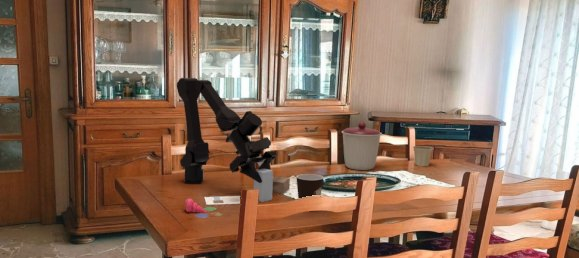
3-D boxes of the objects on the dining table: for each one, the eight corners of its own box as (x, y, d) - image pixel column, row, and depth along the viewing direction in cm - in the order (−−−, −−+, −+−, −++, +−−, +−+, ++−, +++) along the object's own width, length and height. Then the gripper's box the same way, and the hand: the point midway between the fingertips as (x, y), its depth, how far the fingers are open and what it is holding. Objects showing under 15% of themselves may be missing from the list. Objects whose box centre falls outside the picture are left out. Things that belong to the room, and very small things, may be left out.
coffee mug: (303, 212, 153) (304, 181, 152) (290, 205, 161) (291, 175, 160) (335, 208, 159) (336, 178, 157) (321, 201, 166) (322, 172, 165)
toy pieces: (186, 220, 143) (186, 205, 143) (183, 209, 154) (183, 195, 153) (227, 218, 146) (227, 203, 146) (222, 207, 157) (222, 194, 157)
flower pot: (434, 167, 231) (435, 149, 230) (414, 167, 231) (415, 148, 230) (429, 163, 240) (430, 146, 239) (409, 163, 240) (410, 145, 239)
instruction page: (206, 205, 158) (206, 204, 158) (204, 197, 167) (204, 196, 167) (243, 203, 161) (243, 203, 161) (239, 196, 170) (239, 195, 169)
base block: (262, 191, 177) (262, 180, 176) (268, 186, 185) (269, 176, 184) (283, 193, 175) (283, 182, 174) (289, 188, 183) (289, 178, 182)
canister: (351, 162, 237) (353, 118, 234) (386, 168, 226) (389, 122, 224) (332, 168, 222) (334, 121, 220) (368, 174, 212) (371, 125, 209)
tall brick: (253, 199, 166) (254, 170, 165) (263, 197, 170) (264, 168, 168) (262, 202, 163) (263, 172, 162) (272, 199, 167) (273, 170, 166)
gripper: (236, 132, 159) (261, 171, 153) (273, 127, 173) (297, 163, 168) (218, 152, 165) (242, 191, 159) (256, 146, 179) (279, 181, 174)
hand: (266, 181), depth 165 cm, fingers closed on tall brick, 5 cm apart
